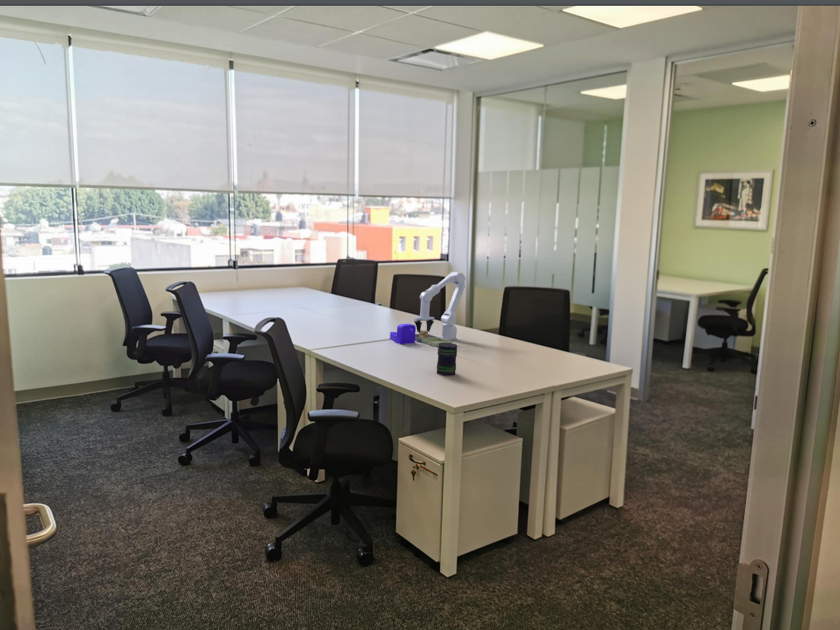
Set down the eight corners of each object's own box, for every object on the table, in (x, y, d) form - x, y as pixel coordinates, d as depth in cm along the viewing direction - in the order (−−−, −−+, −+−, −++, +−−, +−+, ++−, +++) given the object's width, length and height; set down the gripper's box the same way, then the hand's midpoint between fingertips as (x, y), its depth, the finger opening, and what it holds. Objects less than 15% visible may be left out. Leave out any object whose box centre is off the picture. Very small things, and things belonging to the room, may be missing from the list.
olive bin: (438, 341, 400) (439, 337, 400) (452, 345, 390) (452, 341, 390) (421, 342, 392) (421, 338, 392) (434, 346, 382) (434, 342, 381)
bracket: (414, 343, 390) (415, 324, 388) (400, 344, 383) (401, 325, 382) (398, 337, 404) (399, 319, 402) (384, 339, 397) (385, 320, 396)
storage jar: (435, 370, 324) (437, 342, 321) (454, 371, 325) (456, 343, 322) (437, 375, 314) (439, 346, 312) (456, 376, 315) (458, 347, 312)
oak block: (423, 337, 405) (424, 330, 404) (427, 338, 402) (428, 331, 401) (418, 338, 402) (419, 330, 401) (422, 339, 399) (423, 331, 398)
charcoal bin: (425, 337, 411) (425, 333, 411) (437, 340, 401) (438, 337, 401) (408, 338, 403) (408, 334, 402) (420, 342, 393) (420, 338, 392)
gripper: (429, 309, 407) (428, 330, 409) (411, 310, 398) (410, 331, 400) (436, 311, 401) (435, 332, 403) (418, 312, 392) (417, 333, 394)
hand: (423, 331), depth 401 cm, fingers open, 7 cm apart
